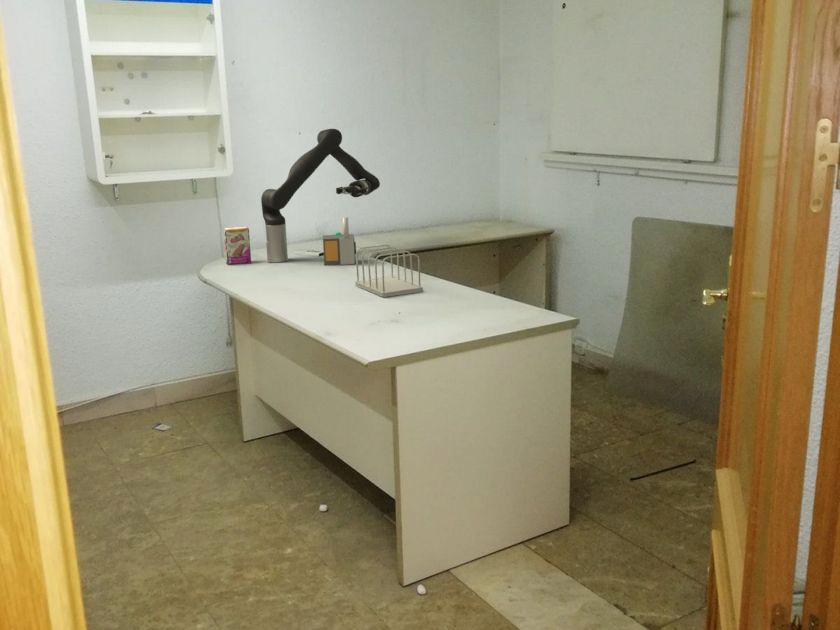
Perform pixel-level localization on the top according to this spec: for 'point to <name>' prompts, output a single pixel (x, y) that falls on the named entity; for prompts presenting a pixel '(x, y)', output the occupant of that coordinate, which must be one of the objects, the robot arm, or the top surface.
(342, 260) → the grey spatula
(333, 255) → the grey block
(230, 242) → the candy bar box
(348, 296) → the top surface
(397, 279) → the file sorter
